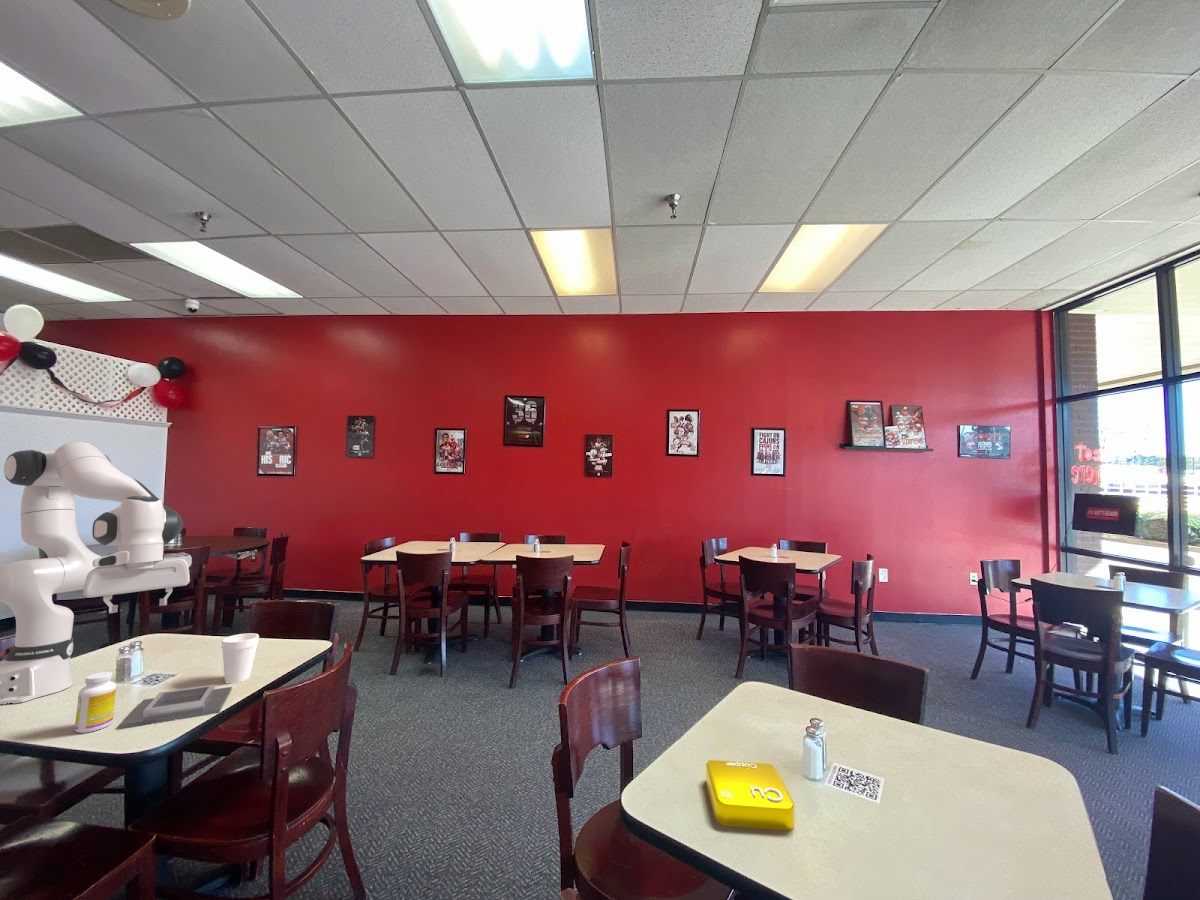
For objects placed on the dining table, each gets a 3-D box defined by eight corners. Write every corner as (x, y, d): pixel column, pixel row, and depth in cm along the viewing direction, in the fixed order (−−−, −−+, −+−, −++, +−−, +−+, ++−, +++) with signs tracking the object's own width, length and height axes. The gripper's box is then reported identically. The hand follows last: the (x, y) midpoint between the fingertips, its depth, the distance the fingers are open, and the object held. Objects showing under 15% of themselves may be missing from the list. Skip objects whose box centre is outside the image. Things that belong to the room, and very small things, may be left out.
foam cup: (216, 687, 143) (220, 644, 144) (220, 677, 151) (223, 636, 152) (254, 681, 149) (258, 639, 150) (256, 671, 156) (259, 631, 157)
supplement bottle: (120, 721, 122) (125, 670, 124) (93, 734, 116) (99, 680, 117) (93, 720, 122) (99, 670, 123) (65, 734, 116) (72, 680, 117)
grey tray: (119, 729, 118) (120, 716, 119) (143, 703, 132) (144, 692, 133) (219, 712, 128) (220, 701, 128) (231, 690, 142) (232, 679, 142)
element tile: (774, 783, 102) (773, 760, 103) (798, 833, 87) (797, 806, 88) (704, 779, 103) (704, 756, 104) (716, 827, 88) (716, 800, 89)
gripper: (192, 551, 135) (190, 600, 133) (87, 560, 122) (84, 615, 120) (192, 551, 130) (190, 602, 129) (83, 561, 117) (80, 618, 115)
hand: (138, 609), depth 124 cm, fingers open, 8 cm apart
